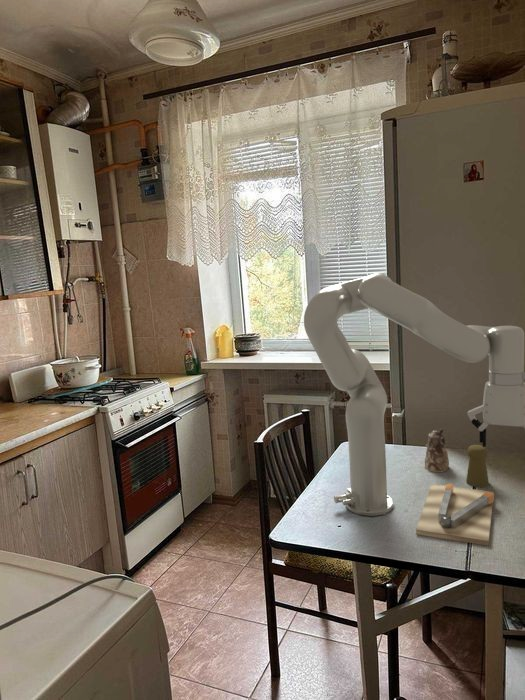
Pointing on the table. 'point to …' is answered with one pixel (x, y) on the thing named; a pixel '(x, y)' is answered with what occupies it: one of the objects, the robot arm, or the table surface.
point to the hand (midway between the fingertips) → (505, 446)
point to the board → (467, 531)
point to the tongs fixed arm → (446, 501)
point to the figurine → (436, 453)
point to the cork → (477, 466)
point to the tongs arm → (467, 511)
